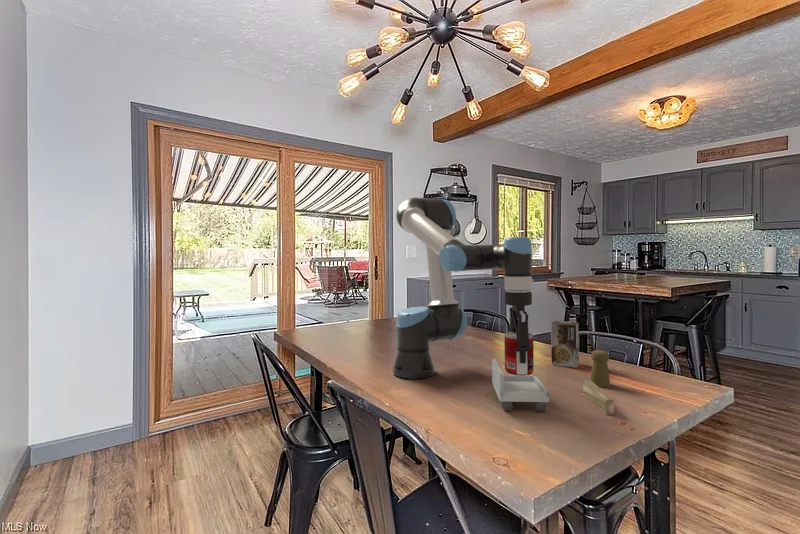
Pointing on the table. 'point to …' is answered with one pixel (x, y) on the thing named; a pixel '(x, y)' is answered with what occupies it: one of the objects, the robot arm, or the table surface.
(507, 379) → the cart
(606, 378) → the cork
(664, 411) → the table surface
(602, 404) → the bar
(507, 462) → the table surface
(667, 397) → the table surface
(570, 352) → the coffee box
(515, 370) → the canned food
